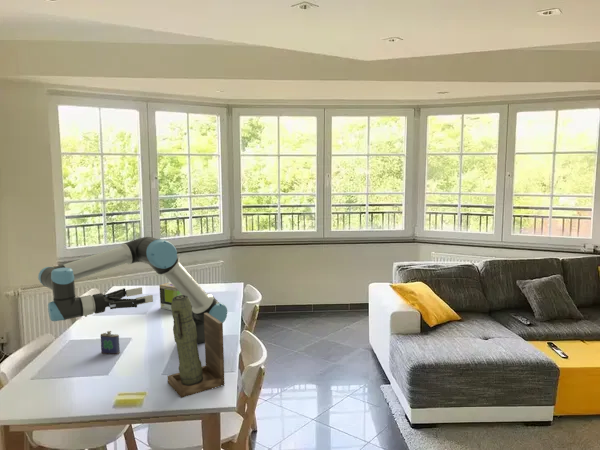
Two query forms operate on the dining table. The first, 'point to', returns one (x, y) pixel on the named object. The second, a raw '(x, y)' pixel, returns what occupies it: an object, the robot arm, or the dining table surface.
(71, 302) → the robot arm
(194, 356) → the thermos
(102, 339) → the flask
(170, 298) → the tea box
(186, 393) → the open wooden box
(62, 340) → the dining table surface
